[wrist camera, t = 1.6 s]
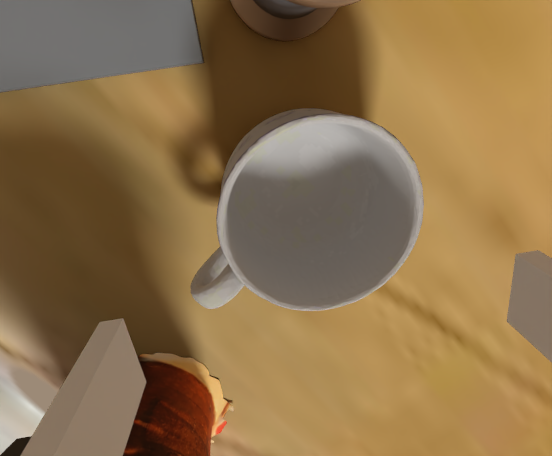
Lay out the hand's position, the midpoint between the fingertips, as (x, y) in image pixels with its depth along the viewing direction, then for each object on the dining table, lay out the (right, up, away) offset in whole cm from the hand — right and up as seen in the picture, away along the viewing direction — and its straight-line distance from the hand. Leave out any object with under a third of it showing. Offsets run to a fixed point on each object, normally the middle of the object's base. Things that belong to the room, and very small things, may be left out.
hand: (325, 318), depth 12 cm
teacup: (-1, +6, +14) cm, 15 cm away
